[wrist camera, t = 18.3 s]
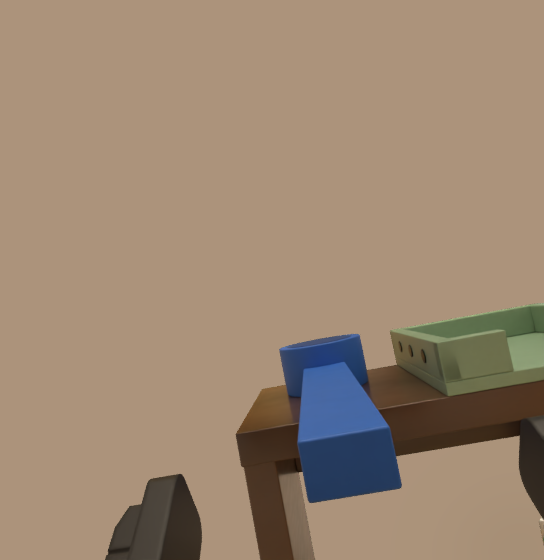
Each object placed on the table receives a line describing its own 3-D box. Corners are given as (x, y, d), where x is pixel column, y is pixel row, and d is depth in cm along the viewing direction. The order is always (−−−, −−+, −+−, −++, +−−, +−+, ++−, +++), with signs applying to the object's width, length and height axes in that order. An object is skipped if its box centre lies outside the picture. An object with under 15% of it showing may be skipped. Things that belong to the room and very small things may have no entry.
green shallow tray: (395, 364, 32) (388, 330, 33) (544, 338, 32) (536, 303, 32) (446, 397, 20) (434, 342, 21) (687, 355, 20) (673, 299, 20)
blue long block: (289, 387, 31) (281, 345, 32) (363, 374, 31) (355, 331, 31) (258, 512, 12) (238, 402, 12) (455, 481, 12) (431, 367, 12)
